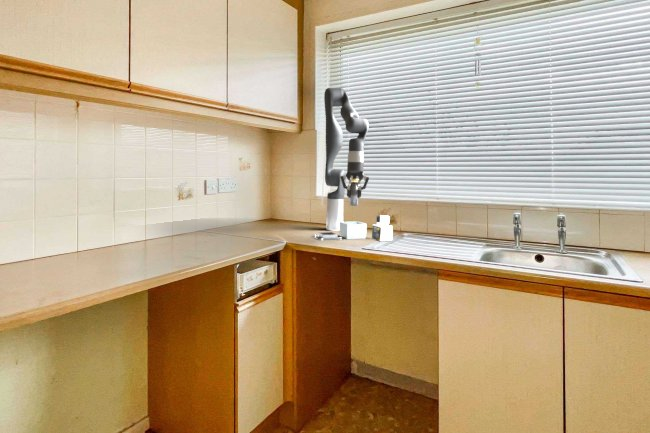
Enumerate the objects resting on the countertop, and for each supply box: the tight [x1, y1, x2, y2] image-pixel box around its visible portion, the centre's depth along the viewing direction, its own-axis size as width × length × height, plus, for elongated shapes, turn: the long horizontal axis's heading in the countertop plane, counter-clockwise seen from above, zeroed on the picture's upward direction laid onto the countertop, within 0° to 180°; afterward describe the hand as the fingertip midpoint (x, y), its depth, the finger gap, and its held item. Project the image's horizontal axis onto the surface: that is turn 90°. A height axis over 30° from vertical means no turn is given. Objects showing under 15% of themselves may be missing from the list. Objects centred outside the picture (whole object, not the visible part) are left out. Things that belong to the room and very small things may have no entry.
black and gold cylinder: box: [348, 179, 359, 207], centre depth 180 cm, size 5×5×13 cm
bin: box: [338, 221, 368, 240], centre depth 182 cm, size 9×10×8 cm
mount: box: [311, 231, 345, 242], centre depth 178 cm, size 12×12×3 cm
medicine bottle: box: [371, 214, 394, 242], centre depth 184 cm, size 7×7×12 cm
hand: (354, 197), depth 181 cm, fingers closed on black and gold cylinder, 4 cm apart
